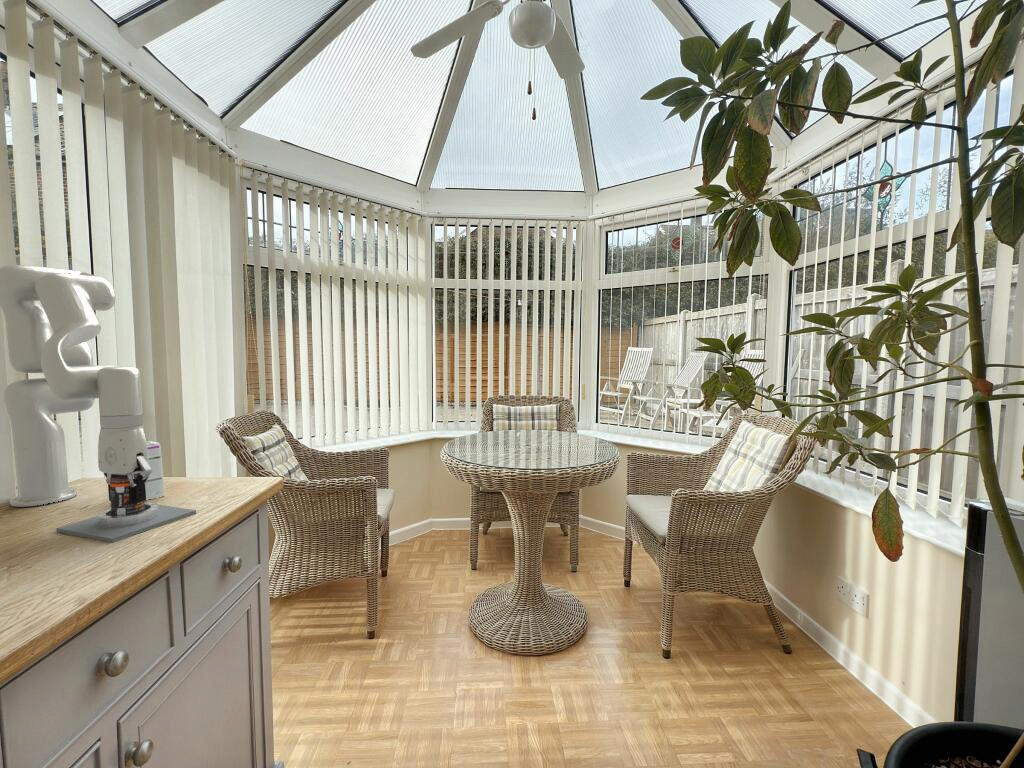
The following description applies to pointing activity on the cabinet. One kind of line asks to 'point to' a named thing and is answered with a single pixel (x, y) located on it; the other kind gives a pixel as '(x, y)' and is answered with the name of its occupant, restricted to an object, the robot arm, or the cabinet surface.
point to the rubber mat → (112, 534)
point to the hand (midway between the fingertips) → (127, 500)
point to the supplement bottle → (122, 497)
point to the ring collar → (128, 517)
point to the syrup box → (154, 472)
